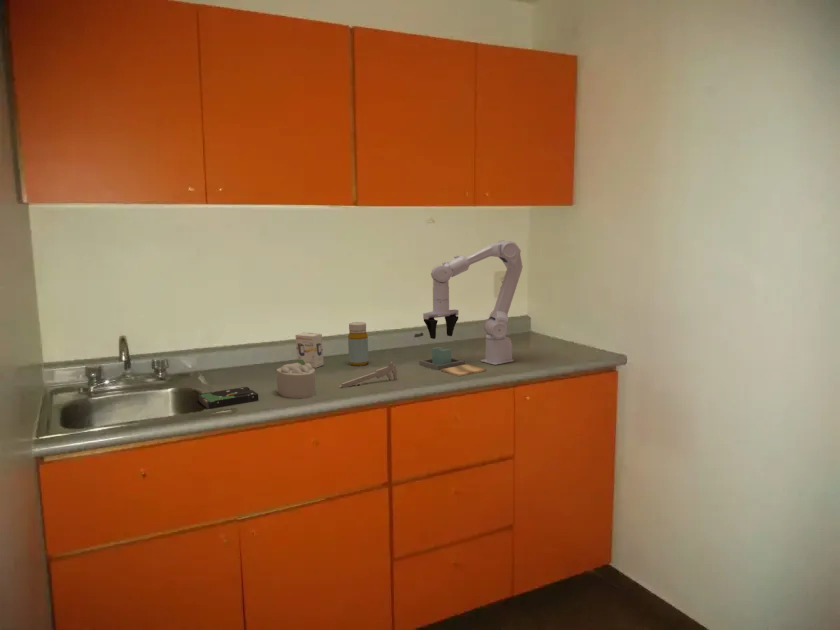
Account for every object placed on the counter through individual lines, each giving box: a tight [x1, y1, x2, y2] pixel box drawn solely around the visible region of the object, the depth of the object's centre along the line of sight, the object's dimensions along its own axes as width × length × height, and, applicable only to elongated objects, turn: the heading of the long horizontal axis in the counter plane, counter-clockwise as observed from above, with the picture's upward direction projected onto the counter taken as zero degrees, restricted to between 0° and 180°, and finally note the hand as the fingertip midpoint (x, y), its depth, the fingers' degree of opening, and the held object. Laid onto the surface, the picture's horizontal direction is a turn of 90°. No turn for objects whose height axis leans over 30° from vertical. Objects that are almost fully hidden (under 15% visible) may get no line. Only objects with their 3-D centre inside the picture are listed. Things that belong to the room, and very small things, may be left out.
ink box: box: [295, 331, 324, 369], centre depth 233 cm, size 9×5×12 cm, turn 64°
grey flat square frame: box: [418, 357, 465, 371], centre depth 232 cm, size 12×11×2 cm
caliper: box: [337, 361, 398, 389], centre depth 207 cm, size 20×1×6 cm, turn 120°
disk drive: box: [198, 386, 259, 410], centre depth 190 cm, size 10×3×15 cm
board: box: [440, 363, 487, 377], centre depth 222 cm, size 12×10×1 cm
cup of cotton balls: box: [276, 362, 317, 399], centre depth 197 cm, size 10×13×9 cm
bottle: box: [347, 321, 369, 367], centre depth 234 cm, size 7×7×15 cm
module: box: [431, 346, 452, 365], centre depth 231 cm, size 4×6×6 cm, turn 37°
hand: (441, 337), depth 230 cm, fingers open, 7 cm apart
